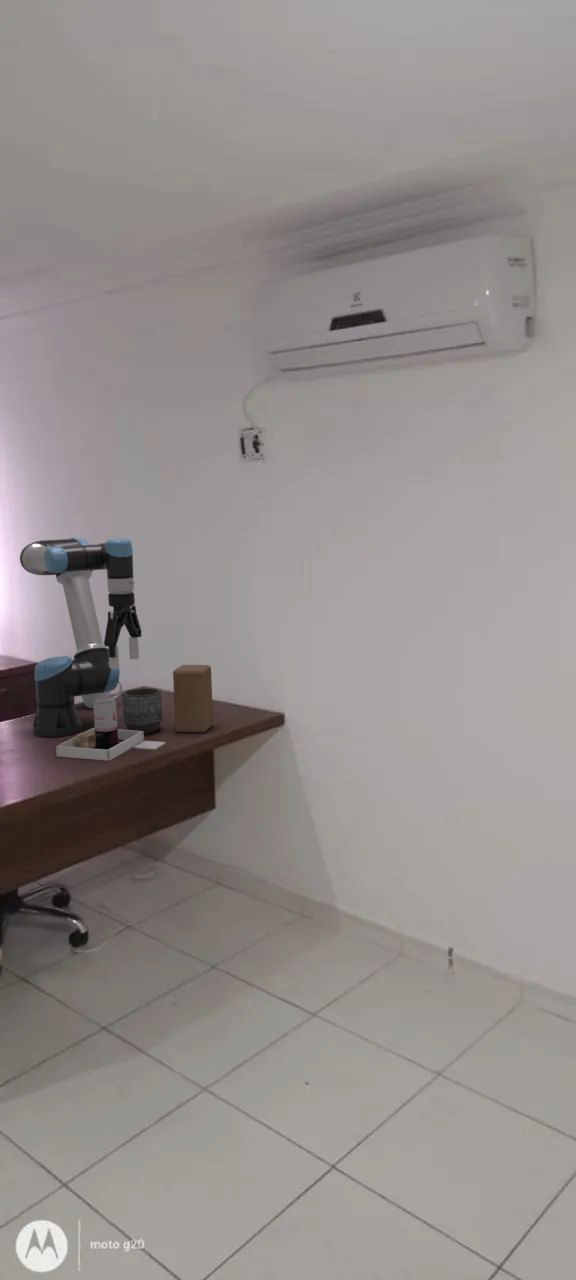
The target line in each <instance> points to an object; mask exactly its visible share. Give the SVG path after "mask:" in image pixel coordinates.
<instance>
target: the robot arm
mask: <svg viewBox="0 0 576 1280" xmlns="http://www.w3.org/2000/svg"><path fill="white" fill-rule="evenodd" d="M133 554H134V550H133V544H132V540H130V539H129V538H111V539H107V540H106V542H103V543H98V544H90V543H89V541H88V540H86V539H83V538H75V537H74V538H73V537H72V538H65V539H48V540H47V539H45V540H38V541H37V540H36V541H34V542H31V543H29V544H27V545H26V546H24V548H22V550H21V552H20V555H19V563H20V565H21V567H22V568H23V569H24V570H25V571H26V572H28V573H29V574H32V575H37V576H56V577H55V578H56V581H57V583H59V584H60V585H61V586H62V588H63V592H64V596H65V597H64V598H65V602H66V606H67V609H68V616H69V619H70V623H71V628H72V632H73V633H72V634H73V637H74V638H73V639H74V642H75V643H74V644H75V648H76V652H75V653H74V655H73V659H72V657H71V656H70V655H62V656H54V657H49V658H45V659H43V660H40V661H39V662H37V664H36V665H35V666H34V678H33V679H34V681H35V682H34V684H35V696H36V698H35V699H36V713H35V717H34V721H33V723H32V734H33V735H34V736H37V737H45V738H49V737H51V738H52V737H53V738H54V737H57V738H58V737H65V736H69V735H73V734H77V733H78V732H80V731H82V730H83V729H82V728H83V727H82V721H81V718H80V715H79V712H78V711H77V709H76V708H77V707H76V704H75V698H76V697H80V696H81V695H89V694H96V693H104V692H109V691H111V692H113V691H114V690H116V689H117V686H118V685H119V682H118V681H119V679H120V674H121V673H120V659H119V658H120V655H119V645H117V644H118V640H119V638H120V634H121V630H122V628H123V627H124V626H125V628H126V630H127V632H128V634H129V637H128V646H129V647H128V649H129V660H139V659H140V650H139V649H140V648H139V638H142V628H141V625H140V622H139V618H138V614H137V607H136V603H135V602H136V601H135V593H134V591H135V586H134V585H135V583H136V582H135V581H134V561H133V560H134V555H133ZM103 570H104V571H105V570H106V577H107V591H108V592H109V593H108V595H107V597H108V598H107V599H108V606H110V607H112V608H113V611H108V612H107V623H106V629H105V633H104V634H105V635H104V641H103V638H102V634H101V629H100V625H99V620H98V616H97V611H96V607H95V603H94V598H93V594H92V590H91V589H92V588H91V585H90V578H92V577H93V576H92V575H93V572H94V571H103Z"/></svg>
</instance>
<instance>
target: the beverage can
mask: <svg viewBox="0 0 576 1280" xmlns="http://www.w3.org/2000/svg"><path fill="white" fill-rule="evenodd" d="M112 697H113V696H110V697H102V698H97V699H94V702H93V707H94V708H93V718H94V719H93V720H94V721H93V724H94V728H95V749H103V750H108V749H110V748H112V747H114V746H116V745H117V744H119V739H118V716H117V715H118V713H117V700H116V698H112Z"/></svg>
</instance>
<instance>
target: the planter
mask: <svg viewBox="0 0 576 1280" xmlns="http://www.w3.org/2000/svg"><path fill="white" fill-rule="evenodd" d="M121 695H122V696H121V698H122V717H123V718H122V719H123V720H122V721H123V723H124V725H125V726H126V728H127V730H134V731H144V735H147V734H152V733H155V732H156V731H157V730H158V729H159V727H160V725H161V724H162V720H163V710H162V708H163V707H162V706H163V705H162V690H161V689H160V688H156V687H134V688H130V689H126V690H124V691H123V690H122V692H121Z"/></svg>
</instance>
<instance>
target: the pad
mask: <svg viewBox="0 0 576 1280" xmlns="http://www.w3.org/2000/svg"><path fill="white" fill-rule="evenodd" d="M166 744H167V742H165V741H154V740H153V741H152V740H144V741H143V742H141V743H139V744H137V745H136V746H134V747H133V748H134V749H138V750H139V749H140V750H150V751H152V750H153V751H156V750H158V749H159V748H161V747H162V746H164V745H166Z"/></svg>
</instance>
